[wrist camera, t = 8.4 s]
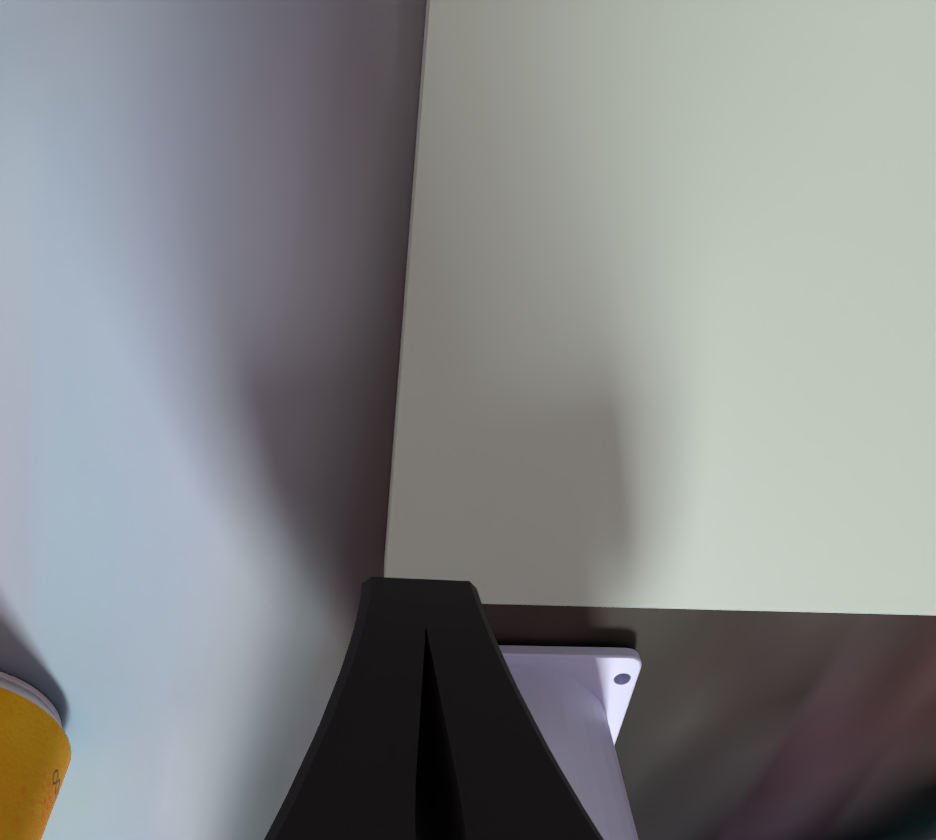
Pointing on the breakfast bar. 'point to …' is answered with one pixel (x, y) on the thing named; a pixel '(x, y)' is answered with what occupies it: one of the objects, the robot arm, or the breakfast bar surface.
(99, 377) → the breakfast bar surface
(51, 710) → the beer can
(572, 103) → the hole plate
